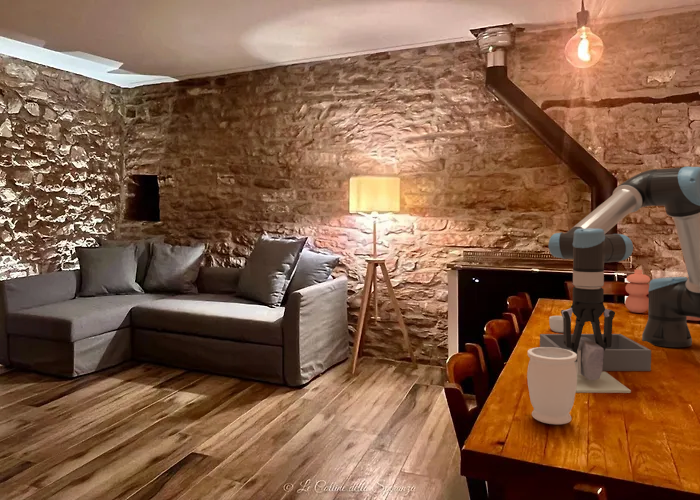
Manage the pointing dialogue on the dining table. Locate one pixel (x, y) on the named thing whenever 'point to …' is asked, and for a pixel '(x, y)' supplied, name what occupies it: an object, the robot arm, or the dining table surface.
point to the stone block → (591, 358)
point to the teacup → (556, 323)
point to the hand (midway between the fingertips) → (586, 372)
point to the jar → (552, 383)
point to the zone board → (600, 385)
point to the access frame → (610, 352)
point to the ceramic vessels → (640, 293)
